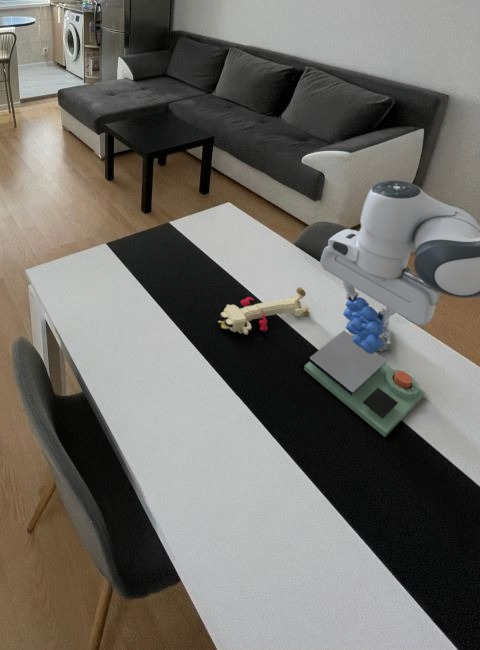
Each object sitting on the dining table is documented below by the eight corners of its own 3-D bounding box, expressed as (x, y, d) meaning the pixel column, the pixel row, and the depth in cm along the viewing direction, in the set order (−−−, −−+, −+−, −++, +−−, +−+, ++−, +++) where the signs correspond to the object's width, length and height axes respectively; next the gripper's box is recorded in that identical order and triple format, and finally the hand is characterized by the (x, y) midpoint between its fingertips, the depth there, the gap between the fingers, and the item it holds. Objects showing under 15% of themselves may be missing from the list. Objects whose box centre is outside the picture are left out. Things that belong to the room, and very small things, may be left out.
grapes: (396, 369, 86) (407, 327, 82) (361, 369, 87) (370, 328, 82) (365, 320, 97) (373, 281, 92) (334, 321, 98) (340, 282, 93)
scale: (423, 396, 95) (427, 386, 94) (385, 437, 87) (388, 428, 86) (342, 338, 109) (344, 329, 108) (303, 369, 102) (305, 360, 101)
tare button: (412, 384, 95) (414, 378, 94) (405, 391, 93) (407, 385, 93) (398, 373, 97) (399, 368, 96) (390, 380, 96) (392, 375, 95)
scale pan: (415, 384, 94) (417, 381, 94) (381, 420, 88) (382, 416, 87) (343, 333, 107) (344, 330, 107) (308, 361, 101) (309, 357, 100)
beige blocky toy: (288, 299, 123) (210, 313, 118) (294, 275, 120) (214, 288, 115) (313, 326, 114) (229, 343, 109) (320, 301, 111) (234, 316, 106)
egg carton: (352, 313, 116) (355, 302, 114) (386, 324, 112) (389, 312, 111) (352, 343, 108) (355, 331, 106) (388, 356, 104) (392, 343, 102)
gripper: (450, 281, 77) (432, 337, 83) (338, 225, 94) (328, 274, 99) (433, 296, 75) (415, 352, 80) (321, 235, 91) (312, 285, 96)
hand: (366, 308), depth 90 cm, fingers closed on grapes, 5 cm apart
